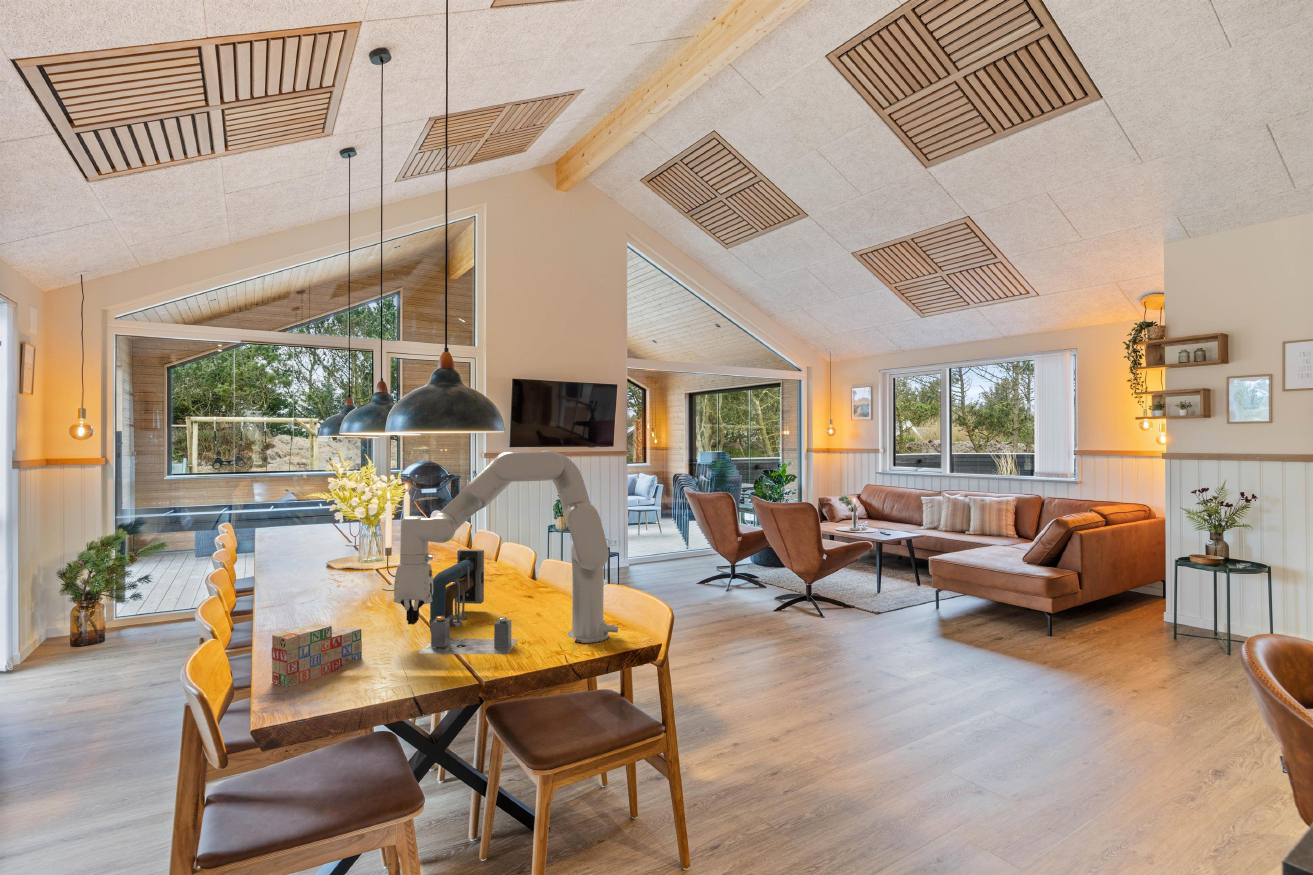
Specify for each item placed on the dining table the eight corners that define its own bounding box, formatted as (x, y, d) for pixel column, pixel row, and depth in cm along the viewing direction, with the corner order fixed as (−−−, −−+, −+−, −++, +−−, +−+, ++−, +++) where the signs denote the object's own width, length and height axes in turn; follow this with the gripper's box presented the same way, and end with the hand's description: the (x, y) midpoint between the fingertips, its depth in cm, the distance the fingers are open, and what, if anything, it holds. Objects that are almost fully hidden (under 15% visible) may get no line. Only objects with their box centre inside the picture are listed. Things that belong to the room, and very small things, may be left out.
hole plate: (518, 642, 203) (518, 638, 203) (507, 658, 189) (507, 653, 189) (434, 642, 203) (434, 638, 203) (417, 657, 189) (417, 653, 189)
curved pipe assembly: (445, 639, 207) (445, 568, 207) (417, 638, 207) (417, 568, 207) (483, 610, 241) (483, 549, 241) (459, 609, 242) (459, 549, 242)
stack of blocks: (347, 659, 188) (347, 614, 188) (362, 662, 185) (362, 617, 185) (271, 683, 170) (271, 633, 170) (286, 688, 167) (286, 637, 167)
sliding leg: (449, 642, 198) (449, 615, 198) (445, 646, 194) (445, 618, 194) (435, 642, 198) (435, 615, 198) (431, 646, 194) (431, 618, 194)
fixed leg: (511, 644, 198) (511, 616, 198) (508, 648, 194) (508, 620, 194) (497, 643, 198) (497, 616, 198) (494, 648, 194) (494, 620, 194)
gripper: (444, 557, 200) (442, 620, 200) (393, 556, 200) (391, 619, 200) (435, 562, 192) (434, 627, 192) (382, 561, 192) (381, 626, 192)
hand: (412, 623), depth 196 cm, fingers closed
